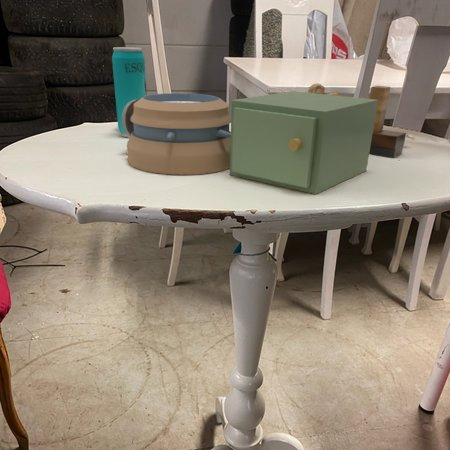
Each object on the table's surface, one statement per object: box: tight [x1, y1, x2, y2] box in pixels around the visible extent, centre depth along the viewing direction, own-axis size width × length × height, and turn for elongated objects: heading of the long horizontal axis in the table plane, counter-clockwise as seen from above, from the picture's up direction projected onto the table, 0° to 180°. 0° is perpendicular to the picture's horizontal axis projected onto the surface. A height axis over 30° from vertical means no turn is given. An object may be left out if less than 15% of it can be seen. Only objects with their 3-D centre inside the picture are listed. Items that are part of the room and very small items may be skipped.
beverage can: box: [111, 46, 148, 139], centre depth 87 cm, size 6×6×15 cm
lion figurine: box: [306, 82, 341, 96], centre depth 102 cm, size 15×5×9 cm, turn 144°
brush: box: [369, 85, 407, 159], centre depth 80 cm, size 10×4×10 cm, turn 52°
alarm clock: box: [122, 92, 231, 176], centre depth 74 cm, size 17×9×23 cm
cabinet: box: [229, 91, 378, 195], centre depth 66 cm, size 14×18×10 cm
